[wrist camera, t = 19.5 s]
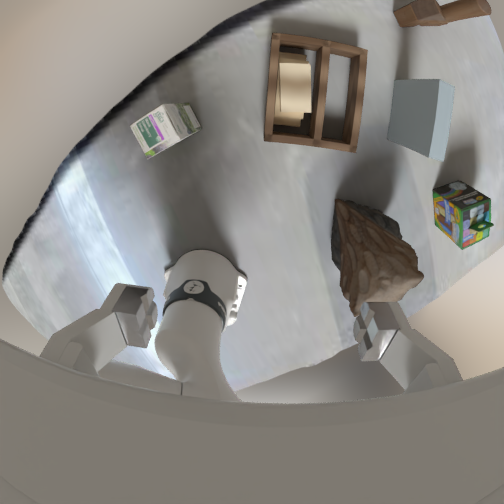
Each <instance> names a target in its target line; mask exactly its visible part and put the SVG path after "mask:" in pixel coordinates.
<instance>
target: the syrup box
mask: <svg viewBox="0 0 504 504" xmlns="http://www.w3.org/2000/svg"><path fill="white" fill-rule="evenodd" d="M130 127H131V129H132V131H133V133H134V135H135V137H136V139H137V140H138V142H139V144H140V146H141V148H142V150H143V151H144V153H145V155H146V157H147V159H150V158H152V157H153V156H155V155H157V154H158V153H160V152H162V151H164V150H165V149H167V148H169V147H171V146H173V145H174V144H176V143H178V142H180V141H182V140H183V139H185V138H187V137H189V136H191V135H192V134H194V133H196V132H198V131H199V130H201V129H202V127H201V126H200V124H199V122H198V120H197V118H196V116H195V114H194V112H193V111H192V109H191V107H190V105H189V103H172V104H162V105H160V106H159V107H157V108H156V109H154V110H152V111H151V112H149V113H148V114H146V115H145V116H143V117H142V118H140V119H139V120H137V121H136V122H134V123H133V124H131V125H130Z"/></svg>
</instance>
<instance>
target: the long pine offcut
mask: <svg viewBox="0 0 504 504" xmlns="http://www.w3.org/2000/svg"><path fill="white" fill-rule="evenodd" d="M306 56H307V55H301V54H293V53H285V52H279V58H287V59H295V60H302V61H306ZM278 61H279V59H278ZM277 73H278V72H277ZM300 122H301V119H299V118H291V117H282V116H274V121H273V124H277V125H287V126H296V127H300Z"/></svg>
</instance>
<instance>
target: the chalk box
mask: <svg viewBox="0 0 504 504" xmlns="http://www.w3.org/2000/svg"><path fill="white" fill-rule="evenodd" d="M433 200H434V215H435V226H437V227H438V228H439V229H440V230H441V231H442V232H444V233H445V234H446V235H447V236H448V237H449V238H450V239H451V240H452V241H453V242H454V243H455V244H456V245H457V246H459V247H460V248H461V249H462V250H463V249H465V248H467V247H469V246H471V245H473V244H475V243H477V242H479V241H481V240H483V239H485V238H486V237H488V236H489V230H490V227H492V226H494V224H493V223H491V199H490V198H488V197H487V196H485V195H484V194H482V193H480V192H479V191H477V190H475V189H474V188H472V187H470V186H469V185H467V184H465V183H464V182H462V181H457V182H454V183H451V184H448V185H445V186H442V187H439V188H436V189H433Z"/></svg>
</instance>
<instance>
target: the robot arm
mask: <svg viewBox="0 0 504 504" xmlns="http://www.w3.org/2000/svg"><path fill="white" fill-rule="evenodd" d="M164 276H165V279H166V282H167V284H166V287H165V290H164V293H163V296H164V297H165V300H166V302H165V305H164V310H163V318H162V321H161V324H160V326H159V329H158V332H157V335H156V337H155V349H156V353H157V355H158V358H159V360H160V361H161V363H162V364H163V365H164V366H165V367H166V368H167V369H168V370H169V371H170V372H171V373H172V374H173V375H174V377H175V378H176V380H174V379H171V378H169V377H166V376H163V375H161V374H158V373H155V372H153V371H150V370H148V369H145V368H143V367H141V366H138V365H134V364H129V363H125V362H121V361H116V360H112V359H113V358H114V357H115V356H116V355H118V354H119V353H120V352H121V351H122V350H123V349H125V348H126V347H127V345H129V346H135V347H141V348H147V346H148V343H149V340H150V338H151V333H150V330H151V329H153V328H154V327H155V324H156V322H157V315H158V314H157V305H156V304H155V302H154V301H153V298H154V296H155V295H154V291H153V289H152V288H150V287H143V286H136V285H130V284H129V285H128V284H122V283H117V284H115V285H114V287H113V289H112V290H111V292H110V293H109V295H108V296H107V298H106V300H105V301H104V303H103V305H102V306H101V308H100V309H95V310H94V311H92V312H90V313H88V314H87V315H85V316H83V317H82V318H80V319H78V320H76V321H75V322H73V323H71V324H70V325H68V326H66V327H64V328H63V329H61V330H59V331H58V332H56V333H54V334H53V335H52V336H51V338H50V340H49V341H48V343H47V345H46V346H45V348H44V350H43V352H42V353H41V355H40V357H39V356H37V355H35V354H32V353H30V352H27V351H25V350H23V349H21V348H19V347H16V346H14V345H12V344H10V343H8V342H6V341H4V340H2V339H0V504H504V367H503V368H500V369H497V370H495V371H492V372H489V373H486V374H483V375H480V376H477V377H474V378H470V379H467V380H463V379H462V377H461V375H460V373H459V371H458V368H457V366H456V364H455V362H454V360H453V358H451V357H450V356H449V355H448V354H446V353H445V352H444V351H443V350H441V349H440V348H439V347H437V346H436V345H435V344H434V343H432V342H431V341H430V340H428V339H427V338H426V337H424V336H423V335H422V334H421V333H419V332H418V331H417V330H415V329H411V327H410V324H409V322H408V320H407V318H406V316H405V314H404V312H403V311H402V309H401V307H400V305H399V303H398V302H364V303H363V304H362V305H361V308H360V311H361V314H360V315H359V316H358V317H356V320H355V323H354V329H353V331H354V337H355V340H356V341H357V342H358V343H359V344H360V345H359V347H358V351H359V354H360V358H361V361H378V360H380V362H381V363H382V365H383V366H384V367H385V368H386V369H387V370H388V371H389V372H390V373H391V375H392V376H393V377H394V378H395V379H396V380H397V381H398V382H399V384H400V385H401V386H402V387H403V388H404V389H405V391H404V393H403V394H401V395H395V396H388V397H381V398H374V399H365V400H355V401H343V402H330V403H329V402H328V403H304V404H303V403H300V404H282V403H281V404H279V403H250V402H242V401H241V400H240V399H239V398H238V397H237V395H236V394H235V393H234V391H233V390H232V388H231V387H230V385H229V383H228V382H227V380H226V377H225V375H224V373H223V370H222V367H221V363H220V340H221V333H223V332H224V331H225V329H226V326H229V325H232V324H233V323H234V321H236V317H237V312H238V309H239V306H240V303H241V300H242V297H243V294H244V291H245V288H246V284H247V278H246V276H244V275H243V274H241V273H240V272H238V271H237V270H236V269H235V268H234V266H233V265H232V264H231V263H230V261H228V260H227V259H226V258H225V257H223V256H222V255H220V254H218V253H216V252H212V251H208V250H194V251H191V252H188V253H186V254H184V255H183V256H181V257H180V258H179V260H178V261H177V262H176V264H175V265H174V266H173V267H171V268H169V269H167V270H166V271H165V274H164ZM240 284H241V285H240Z"/></svg>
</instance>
